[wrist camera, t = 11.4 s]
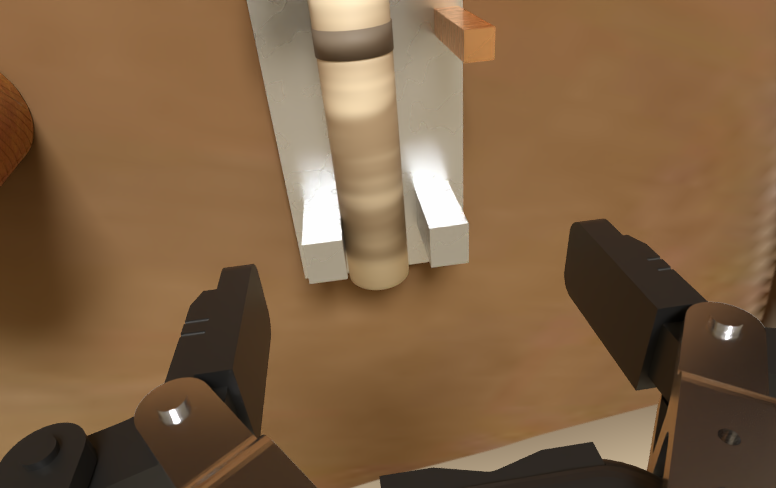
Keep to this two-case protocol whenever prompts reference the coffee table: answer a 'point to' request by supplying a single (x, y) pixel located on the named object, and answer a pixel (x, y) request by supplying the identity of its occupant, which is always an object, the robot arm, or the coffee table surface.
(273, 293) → the coffee table surface
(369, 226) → the dowel
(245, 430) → the robot arm
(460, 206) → the white peg stand
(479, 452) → the coffee table surface
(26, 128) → the disposable coffee cup
